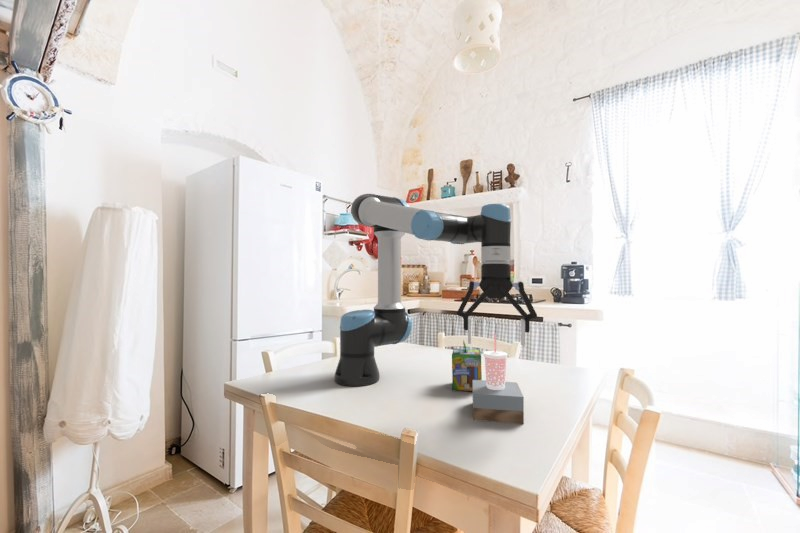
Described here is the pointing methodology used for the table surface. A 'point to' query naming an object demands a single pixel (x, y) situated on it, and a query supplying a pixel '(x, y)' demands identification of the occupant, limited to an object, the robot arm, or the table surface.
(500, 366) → the beverage cup
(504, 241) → the robot arm
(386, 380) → the table surface
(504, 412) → the walnut base slab
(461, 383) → the chalk box
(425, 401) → the table surface
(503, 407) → the slate top slab
